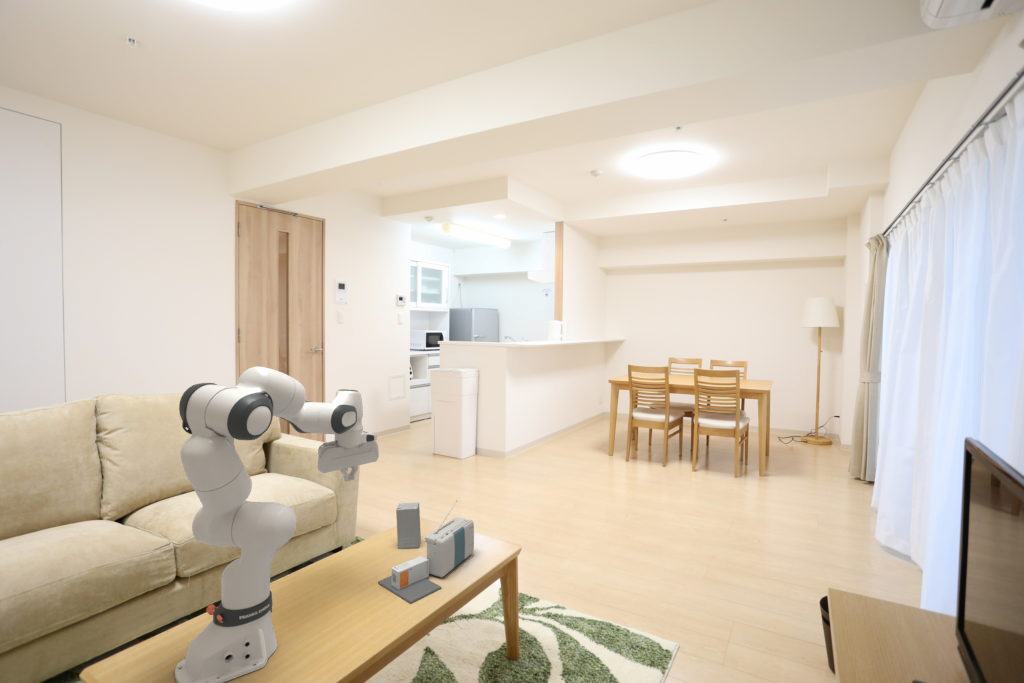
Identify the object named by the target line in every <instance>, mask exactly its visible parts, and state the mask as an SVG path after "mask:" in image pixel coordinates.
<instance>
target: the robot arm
mask: <svg viewBox="0 0 1024 683" xmlns="http://www.w3.org/2000/svg"><path fill="white" fill-rule="evenodd" d="M306 399H307V393H306V388H305V387H304V385H303V384H302V383H301V382H300V381H299V380H297V379H296V378H294V377H293V376H290V375H289V374H286V373H284V372H282V371H279V370H276V369H273V368H270V367H264V366H252V367H249V368H247V369H246V370H245V371H243V373H241V374H240V376H239V378H238V379H237V382H236V386H234V387H231V386H227V385H221V384H217V383H215V382H214V383H213V382H201V383H195V384H193V385H191V386H190V387H188V388H187V389H186V390H185V391H184V392H183V394H182V395H181V398H180V401H179V404H178V410H179V417H180V419H181V421H182V424H181V425H182V426H181V427H182V429H183V430H184V431H185V433H187V434H189V435H191V436H190V437H189V438H188V439H187V440H186V441H185V442H184V444H182V447H181V450H180V459H181V463H182V468H183V470H184V472H185V476H186V477H187V479H188V481H189V484H190V485H191V487H192V489H193V490H194V491H195V493H196V496H197V497H198V499H199V501H200V503H201V505H202V507H201V508H199V510H198V511H196V514H195V516H194V518H193V521H192V526H191V529H192V530H191V531H192V535H193V536H194V539H195V540H196V541H197V542H199V543H203V544H206V545H209V546H210V545H211V546H214V547H232V548H233V547H234V548H237V547H238V548H240V549H241V550H240V551H241V553H240V557H238V558H236V559H235V560H233V561H231V562H230V563H229V564H227V566H226V567H225V568H224V570H223V572H222V575H221V577H220V580H221V582H220V583H221V587H220V588H221V601H220V602H219V604H218V606H216V605H215V604H214V603H211V604H209V605H207V607H206V609H205V611H206V613H207V614H208V615H210V616H212V620H211V621H210V623H208V624H207V625H206V627H204V629H202V630H201V631H200V632H199V633H198V634H197V635H196V636H195V637H194V638H193V639H192V640H191V642H190V643H189V645H188V647H187V652H186V656H185V658H184V659H182V660H180V661H179V662H178V663H177V665H176V667H175V670H174V678H175V681H176V683H225V682H228V681H231V680H234V679H236V678H238V677H241V676H242V677H243V676H244V675H247V674H250V673H252V672H255V671H258V670H261V669H263V668H265V666H266V664H267V663H268V660H269V658H270V657H271V656H272V655H273V654H274V653H275V651H276V649H277V648H278V644H279V643H278V639H277V636H276V633H275V629H274V626H273V624H274V623H273V618H272V612H273V606H274V605H273V603H274V602H273V594H272V590H271V570H272V563H273V560H274V557H275V555H276V554H277V552H278V551H279V550H280V548H282V547H283V546H284V545H285V544H287V543H288V542H289V541H290V540H291V538H292V537H293V536H294V534H295V532H296V529H297V522H298V521H297V515H296V512H295V510H294V509H293V508H292V506H290V505H285V504H281V503H279V502H270V501H266V502H265V501H249V500H247V499H248V498H249V496H250V494H251V492H252V487H253V482H252V479H251V477H250V475H249V473H248V470H247V469H246V467H245V465H244V463H243V460H242V459H241V456H240V455H239V454H238V451H237V450H236V447H235V440H238V441H254V440H257V439H259V438H261V437H262V436H263V435H264V434H265V433H266V432H267V431H268V429H270V427H271V424H272V421H273V418H274V417H276V418H277V417H278V418H280V419H282V420H283V421H284V420H285V421H286V422H287V423H289V424H290V425H291V427H292V428H293V429H294V430H295V431H296V432H297V433H299V434H320V435H321V434H323V435H334V440H333V441H328V442H323V443H322V444H321V445H319V447H318V449H317V452H318V453H317V454H318V457H317V470H318V471H319V472H321V473H323V474H327V473H331V472H334V471H335V472H336V471H339V470H340V472H341V474H342V475H343V481H344V482H346V483H347V482H350V481H353V480H355V479H356V477H355V475H356V473H357V471H358V469H359V466H362V465H366V464H370V463H375V462H378V459H379V453H380V452H379V445H378V442H377V439H378V436H377V435H376V434H374V433H371V432H368V431H364V427H363V424H362V423H363V422H362V421H363V417H364V416H363V415H364V413H363V412H364V411H363V409H364V407H363V399H362V394H361V392H360V391H359V390H356V389H346V388H345V389H338V390H336V392H335V396H334V398H333V399H332V400H331V401H329V402H321V401H320V402H319V401H310V400H309V401H307V400H306ZM349 468H350V469H351V470H350V473H347V472H348V469H349Z"/></svg>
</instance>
